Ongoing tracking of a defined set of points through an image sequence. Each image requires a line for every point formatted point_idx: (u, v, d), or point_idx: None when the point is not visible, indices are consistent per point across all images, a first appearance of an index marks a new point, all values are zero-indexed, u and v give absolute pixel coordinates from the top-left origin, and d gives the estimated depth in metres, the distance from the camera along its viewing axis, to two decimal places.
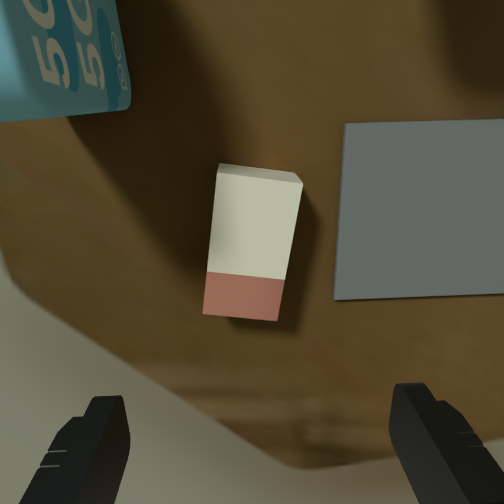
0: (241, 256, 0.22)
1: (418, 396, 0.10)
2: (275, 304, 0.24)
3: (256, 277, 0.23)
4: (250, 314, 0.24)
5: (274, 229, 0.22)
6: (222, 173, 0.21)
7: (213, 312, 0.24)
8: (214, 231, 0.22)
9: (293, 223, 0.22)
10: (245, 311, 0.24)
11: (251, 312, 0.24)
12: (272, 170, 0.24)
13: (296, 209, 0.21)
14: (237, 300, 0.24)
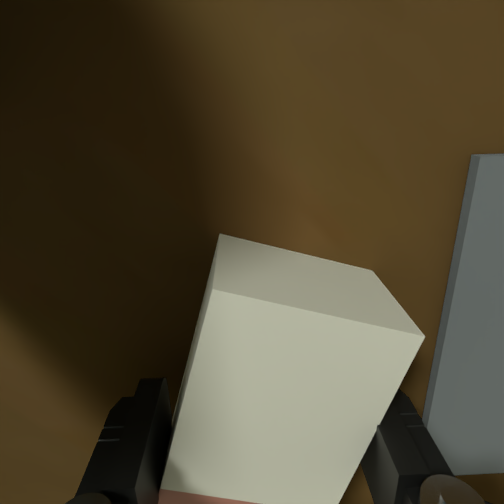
0: (244, 466, 0.10)
1: None
2: None
3: None
4: None
5: (332, 422, 0.09)
6: (226, 292, 0.08)
7: None
8: (188, 415, 0.09)
9: (379, 414, 0.09)
10: None
11: None
12: (331, 265, 0.11)
13: (394, 388, 0.09)
14: None
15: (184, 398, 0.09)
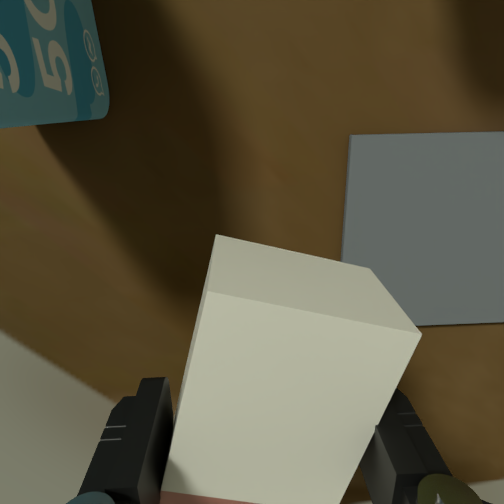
0: (244, 467, 0.10)
1: None
2: None
3: None
4: None
5: (331, 421, 0.09)
6: (221, 293, 0.08)
7: None
8: (186, 417, 0.09)
9: (378, 413, 0.09)
10: None
11: None
12: (328, 264, 0.11)
13: (392, 386, 0.09)
14: None
15: (182, 400, 0.09)
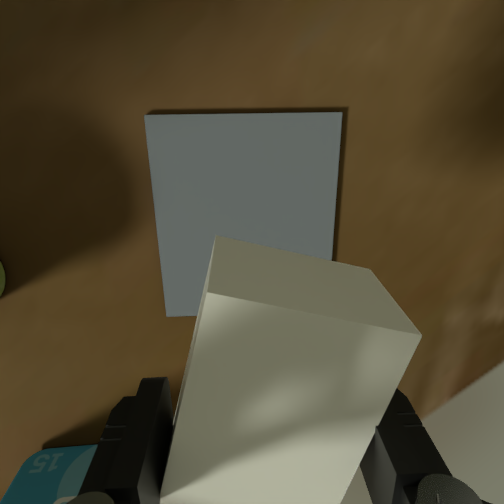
0: (244, 468, 0.10)
1: None
2: None
3: None
4: None
5: (331, 422, 0.09)
6: (221, 294, 0.08)
7: None
8: (185, 418, 0.09)
9: (378, 414, 0.09)
10: None
11: None
12: (328, 265, 0.11)
13: (392, 388, 0.09)
14: None
15: (182, 401, 0.09)
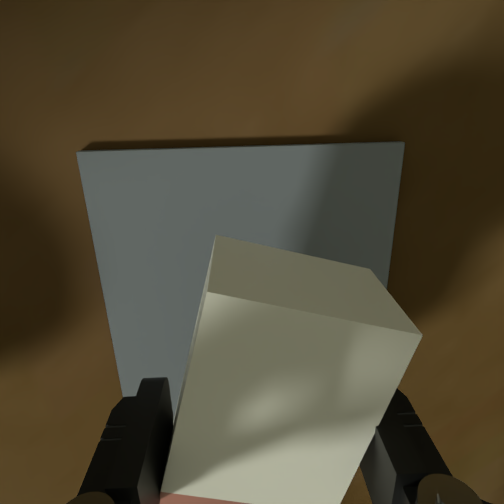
0: (244, 469, 0.10)
1: None
2: None
3: None
4: None
5: (331, 422, 0.09)
6: (221, 294, 0.08)
7: None
8: (186, 418, 0.09)
9: (378, 414, 0.09)
10: None
11: None
12: (328, 265, 0.11)
13: (392, 387, 0.09)
14: None
15: (182, 401, 0.09)
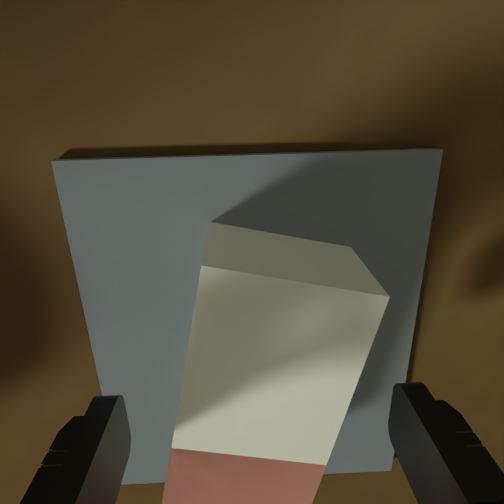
0: (243, 424, 0.11)
1: (417, 396, 0.10)
2: (302, 503, 0.12)
3: (270, 460, 0.11)
4: None
5: (316, 379, 0.10)
6: (213, 267, 0.09)
7: None
8: (189, 379, 0.10)
9: (357, 370, 0.10)
10: None
11: None
12: (312, 244, 0.12)
13: (367, 345, 0.10)
14: (229, 494, 0.12)
15: (185, 364, 0.10)
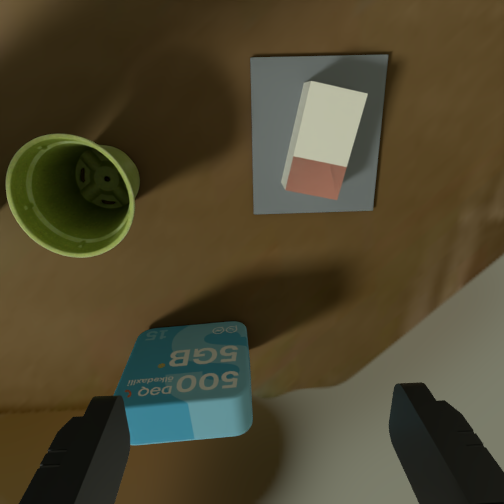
0: (318, 146, 0.32)
1: (418, 396, 0.10)
2: (337, 186, 0.33)
3: (327, 163, 0.33)
4: (319, 193, 0.33)
5: (344, 126, 0.31)
6: None
7: (293, 189, 0.33)
8: (302, 125, 0.31)
9: (357, 123, 0.31)
10: (315, 190, 0.33)
11: (320, 191, 0.33)
12: None
13: (361, 112, 0.31)
14: (311, 180, 0.33)
15: (302, 119, 0.31)
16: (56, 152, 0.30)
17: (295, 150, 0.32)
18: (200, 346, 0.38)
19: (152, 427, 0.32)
